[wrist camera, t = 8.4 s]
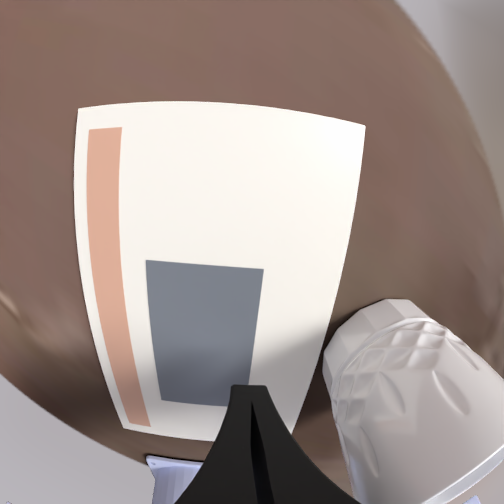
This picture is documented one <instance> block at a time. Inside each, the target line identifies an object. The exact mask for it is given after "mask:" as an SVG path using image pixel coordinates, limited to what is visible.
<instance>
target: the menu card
mask: <svg viewBox="0 0 504 504" xmlns="http://www.w3.org/2000/svg"><path fill="white" fill-rule="evenodd" d="M364 135H365V126H364V125H360V124H356V123H352V122H348V121H344V120H339V119H335V118H330V117H325V116H320V115H315V114H310V113H304V112H298V111H292V110H285V109H278V108H271V107H263V106H254V105H243V104H231V103H215V102H181V101H174V102H140V103H124V104H113V105H103V106H94V107H87V108H80V109H78V118H77V128H76V140H75V159H74V206H75V225H76V238H77V248H78V257H79V265H80V272H81V279H82V286H83V291H84V297H85V302H86V308H87V312H88V317H89V322H90V326H91V330H92V335H93V339H94V342H95V346H96V350H97V354H98V357H99V361H100V364H101V367H102V371H103V374H104V377H105V380H106V383H107V386H108V389H109V392H110V395H111V397H112V400H113V403H114V406H115V408H116V411H117V413H118V416H119V418H120V421H121V423H122V426H123V428H126V429H130V430H135V431H140V432H145V433H151V434H157V435H163V436H170V437H177V438H185V439H194V440H205V441H215V439H216V437H217V435H218V433H219V430H220V428H221V425H222V422H223V420H224V417H225V414H226V411H227V407H228V403H229V399H230V389H231V386H232V385H233V384H238V385H265V386H266V387H267V388H268V391H269V394H270V396H271V398H272V401H273V403H274V405H275V407H276V409H277V411H278V413H279V415H280V417H281V418H282V420H283V422H284V423H285V425H286V427H287V428H288V430H289V432H290V433H291V434H292V431H293V429H294V426H295V424H296V421H297V418H298V416H299V413H300V410H301V408H302V405H303V402H304V400H305V397H306V394H307V391H308V388H309V385H310V382H311V379H312V377H313V374H314V370H315V367H316V364H317V361H318V358H319V355H320V352H321V348H322V345H323V342H324V338H325V335H326V331H327V328H328V324H329V321H330V317H331V313H332V310H333V306H334V302H335V298H336V294H337V290H338V286H339V282H340V278H341V273H342V269H343V265H344V260H345V255H346V251H347V246H348V241H349V236H350V231H351V225H352V220H353V214H354V209H355V203H356V197H357V190H358V184H359V177H360V169H361V162H362V153H363V145H364Z"/></svg>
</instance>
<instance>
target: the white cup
mask: <svg viewBox="0 0 504 504" xmlns="http://www.w3.org/2000/svg"><path fill="white" fill-rule="evenodd" d="M322 373H323V376H324V380H325V383H326V386H327V389H328V392H329V396H330V399H331V404H332V411H333V417H334V421H335V424H336V427H337V430H338V435H339V440H340V445H341V449H342V453H343V457H344V461H345V465H346V468H347V472H348V476H349V480H350V484H351V488H352V492H353V496H354V499H355V500H357V501H358V502H360V503H361V504H446V503H448V502H449V501H451V500H452V499H454V498H456V497H457V496H459V495H460V494H462V493H463V492H465V491H466V490H467V489H469V488H470V487H472V486H473V485H474V484H476V483H477V482H478V481H479V480H481V479H482V478H483V477H485V476H486V475H487V474H488V473H490V472H491V471H492V470H493V469H494V468H495V467H496V466H497V465H499V464H500V463H501V462H502V461H503V460H504V380H503V379H502V378H501V377H500V376H499V375H498V374H497V373H496V372H495V371H494V370H493V369H492V368H491V367H490V365H489V364H488V363H487V362H486V361H485V360H484V359H483V358H482V357H480V356H479V355H478V354H476V353H475V352H473V351H472V350H471V349H470V348H469V347H468V346H467V345H466V344H465V343H464V342H463V341H462V340H461V339H459V338H458V337H457V336H455V335H454V334H453V333H452V332H451V331H450V330H449V329H447V328H446V327H445V326H442V325H439V324H438V323H437V322H436V321H434V320H433V319H432V318H431V317H429V316H428V315H427V314H426V313H425V312H424V311H422V310H421V309H420V308H419V307H417V306H416V305H415V304H414V303H412V302H411V301H410V300H407V299H384V300H382V301H380V302H377V303H375V304H372V305H370V306H368V307H365V308H363V309H360V310H359V311H358V312H357V313H355V314H354V315H353V316H352V317H351V318H350V319H349V320H347V321H346V322H345V323H344V324H343V325H341V326H340V327H339V328H338V329H337V330H336V332H335V334H334V335H333V337H332V339H331V341H330V342H329V344H328V346H327V347H326V349H325V350H324V356H323V369H322Z"/></svg>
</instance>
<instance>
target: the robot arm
mask: <svg viewBox="0 0 504 504" xmlns="http://www.w3.org/2000/svg"><path fill="white" fill-rule="evenodd" d="M146 461H147V463H148V465H149V467H150V469H151V471H152V474H153V476H154V477H155V487H154V493H153V500H152V504H361V503H360V502H358V501H357V500H355V499H354V498H352V497H351V496H350V495H348V494H347V493H346V492H344V491H343V490H342V489H340V488H339V487H338V486H337V485H336V484H335V483H333V482H332V481H331V480H330V479H329V478H328V477H327V476H326V475H324V474H323V473H322V472H321V471H320V470H319V468H318V467H317V466H316V465H315V464H314V463H313V462H312V461H311V460H310V459H309V457H308V456H307V455H306V454H305V453H304V451H303V450H302V449H301V447H300V446H299V445H298V443H297V442H296V440H295V439H294V438H293V436H292V435H291V433H290V432H289V430H288V428H287V427H286V425H285V423H284V422H283V420H282V418H281V417H280V415H279V413H278V411H277V409H276V407H275V405H274V403H273V401H272V398H271V396H270V394H269V391H268V388H267V387H266V386H265V385H238V384H233V385H232V386H231V389H230V399H229V403H228V407H227V411H226V414H225V417H224V420H223V422H222V425H221V428H220V430H219V433H218V435H217V437H216V439H215V442H214V444H213V446H212V448H211V450H210V452H209V454H208V455H207V457H206V459H205V461H204V463H203V462H193V461H184V460H176V459H169V458H162V457H156V456H150V455H149V456H147V457H146ZM6 504H11V503H10V502H7V503H6ZM463 504H481V503H480V501H479V499H478V497H477V496H476V495H475V496H473V497H472V498H470V499H469V500H467V501H466V502H464V503H463Z"/></svg>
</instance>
